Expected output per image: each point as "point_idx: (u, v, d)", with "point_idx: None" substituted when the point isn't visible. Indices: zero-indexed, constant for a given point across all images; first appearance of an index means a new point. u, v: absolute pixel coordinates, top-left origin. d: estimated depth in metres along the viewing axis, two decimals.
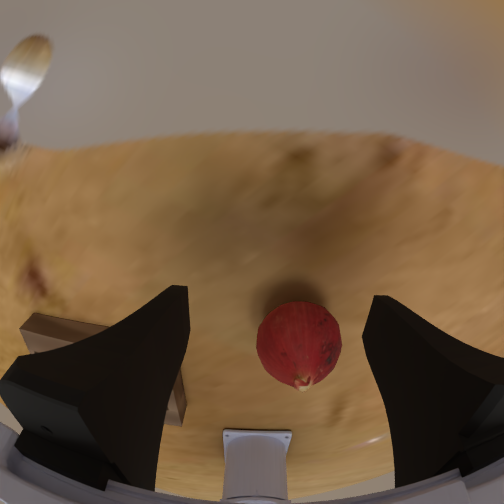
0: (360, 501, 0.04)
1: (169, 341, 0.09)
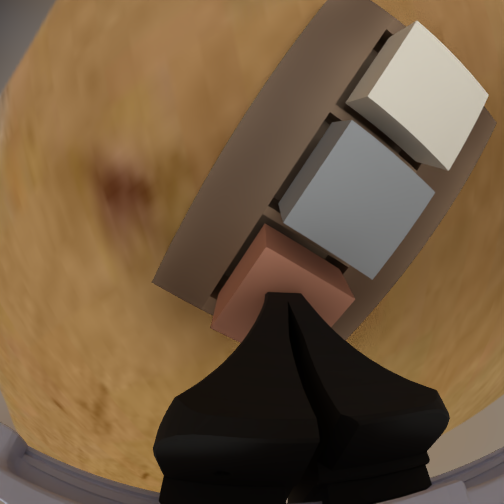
0: None
1: None
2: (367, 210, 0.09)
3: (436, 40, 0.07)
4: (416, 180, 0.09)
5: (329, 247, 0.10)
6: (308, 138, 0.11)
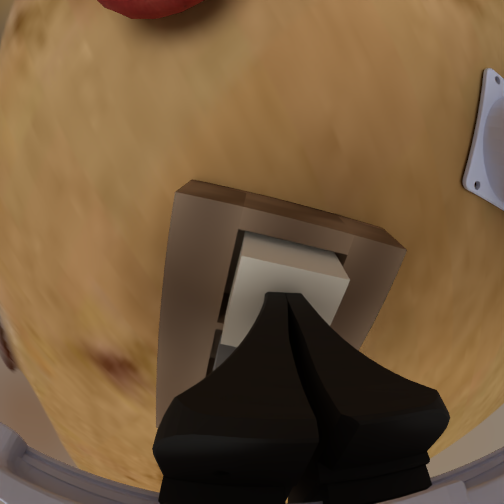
0: None
1: None
2: None
3: (269, 264, 0.10)
4: None
5: None
6: (208, 349, 0.14)
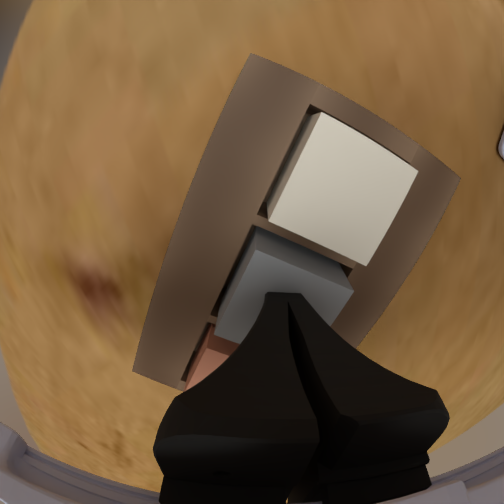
0: None
1: None
2: None
3: (347, 129, 0.08)
4: (331, 286, 0.10)
5: None
6: (234, 253, 0.12)
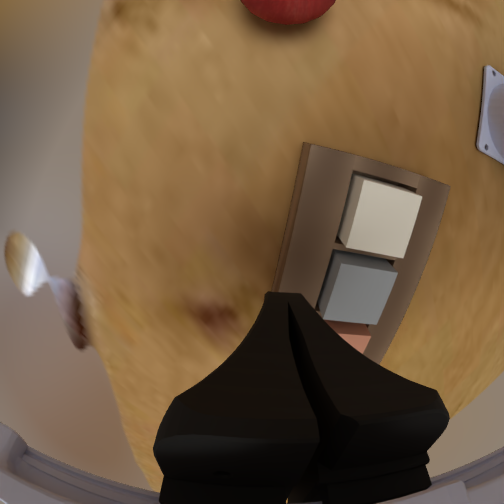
0: None
1: None
2: (362, 298, 0.18)
3: (379, 185, 0.15)
4: (384, 273, 0.17)
5: (348, 320, 0.18)
6: (324, 269, 0.18)
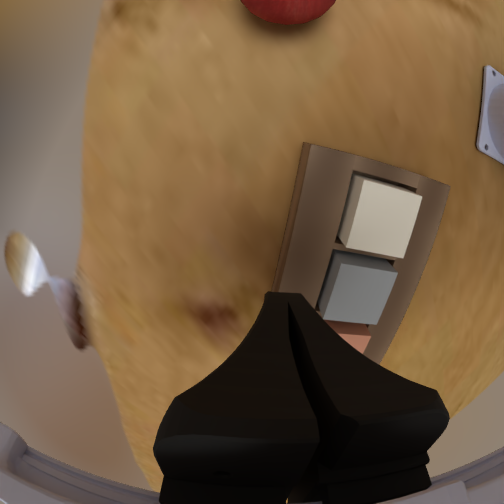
0: None
1: None
2: (362, 298, 0.18)
3: (379, 185, 0.15)
4: (384, 273, 0.17)
5: (348, 320, 0.18)
6: (324, 269, 0.18)
